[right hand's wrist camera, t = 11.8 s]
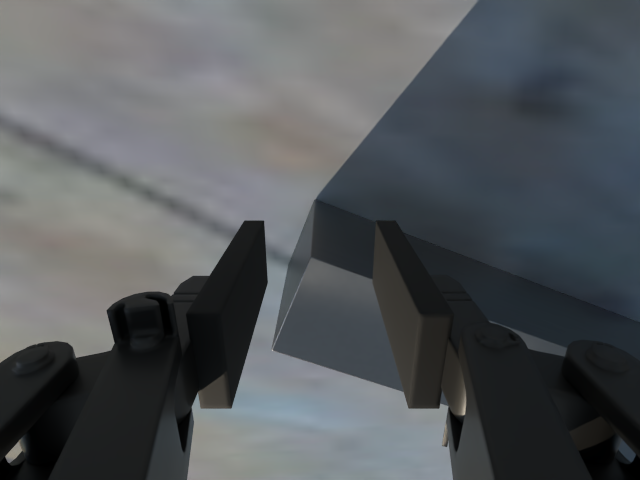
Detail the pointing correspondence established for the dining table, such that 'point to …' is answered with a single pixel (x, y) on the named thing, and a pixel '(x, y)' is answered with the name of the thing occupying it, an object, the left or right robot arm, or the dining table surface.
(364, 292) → the bar
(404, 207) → the dining table surface
